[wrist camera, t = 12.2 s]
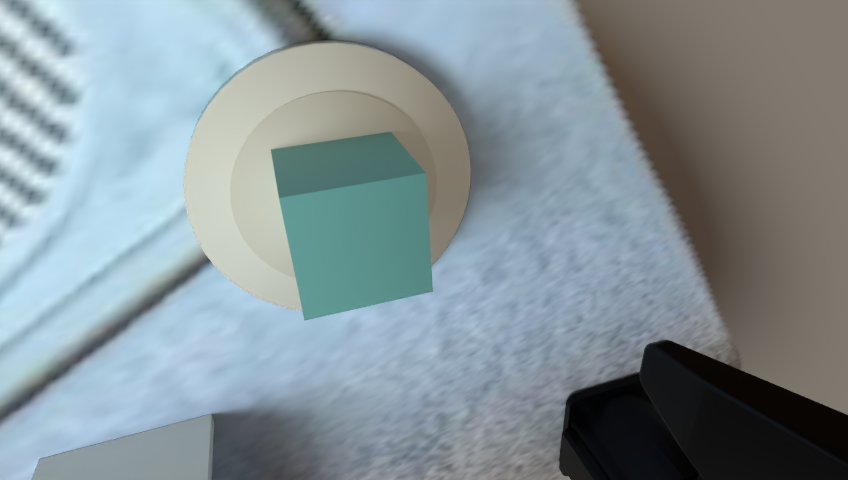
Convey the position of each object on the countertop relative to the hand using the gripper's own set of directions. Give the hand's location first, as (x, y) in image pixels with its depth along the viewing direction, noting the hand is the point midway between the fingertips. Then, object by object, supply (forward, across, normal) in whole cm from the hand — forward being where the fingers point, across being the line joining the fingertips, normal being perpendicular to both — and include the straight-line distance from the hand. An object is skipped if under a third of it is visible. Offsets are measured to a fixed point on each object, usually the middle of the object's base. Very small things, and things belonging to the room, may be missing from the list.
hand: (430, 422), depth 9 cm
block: (+11, 0, 0) cm, 11 cm away
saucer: (+12, 0, 0) cm, 12 cm away
